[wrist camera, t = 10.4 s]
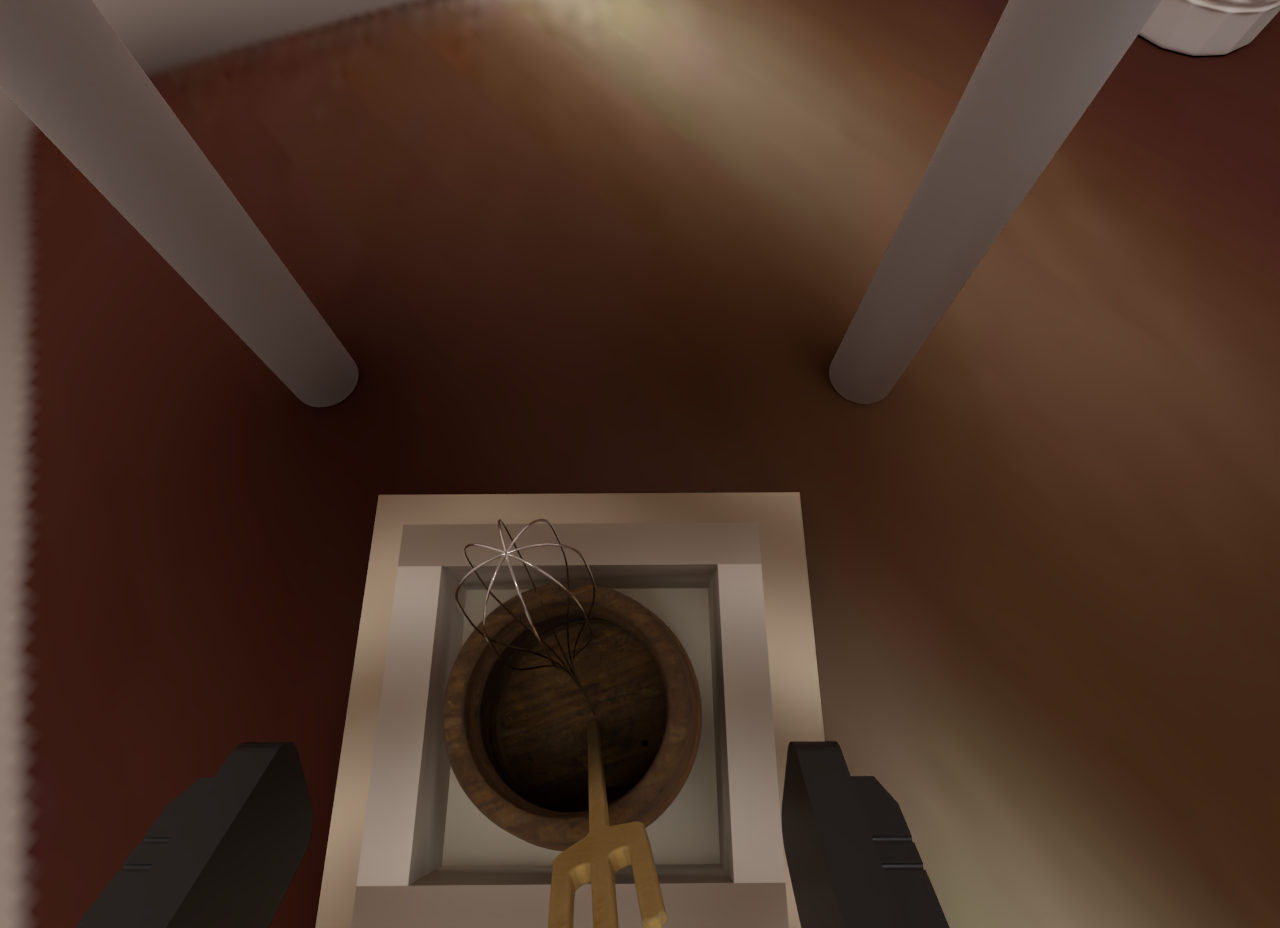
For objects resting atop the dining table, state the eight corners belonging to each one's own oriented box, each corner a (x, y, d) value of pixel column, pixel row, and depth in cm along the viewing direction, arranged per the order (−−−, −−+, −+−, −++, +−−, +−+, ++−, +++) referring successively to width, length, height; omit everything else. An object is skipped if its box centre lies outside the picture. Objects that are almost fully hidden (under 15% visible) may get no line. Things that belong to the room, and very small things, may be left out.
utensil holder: (648, 588, 22) (649, 418, 11) (729, 795, 20) (837, 850, 8) (467, 658, 21) (266, 552, 10) (529, 882, 19) (358, 1067, 8)
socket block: (841, 993, 19) (891, 1052, 15) (320, 998, 19) (240, 1058, 15) (793, 502, 24) (821, 456, 20) (388, 504, 24) (343, 459, 20)
